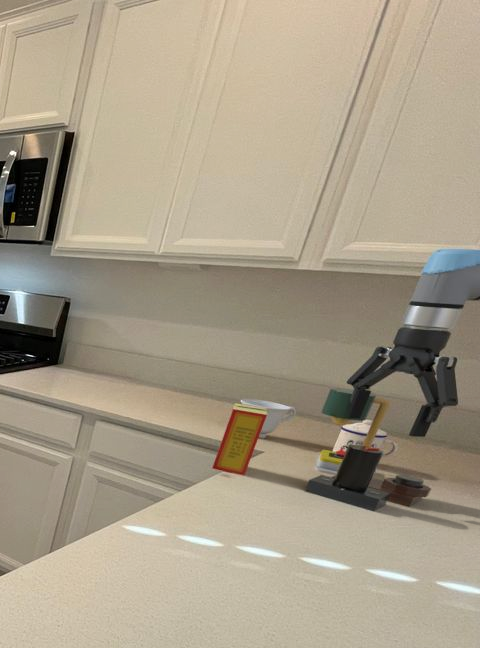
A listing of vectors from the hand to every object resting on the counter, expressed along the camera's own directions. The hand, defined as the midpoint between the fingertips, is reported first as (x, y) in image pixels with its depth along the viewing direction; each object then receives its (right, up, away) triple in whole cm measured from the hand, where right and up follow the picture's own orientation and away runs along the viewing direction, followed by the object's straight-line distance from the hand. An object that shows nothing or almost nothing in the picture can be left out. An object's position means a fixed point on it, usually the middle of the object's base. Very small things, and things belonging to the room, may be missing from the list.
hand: (382, 426), depth 128 cm
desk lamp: (+5, -9, +16) cm, 19 cm away
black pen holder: (-2, -13, +5) cm, 14 cm away
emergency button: (+16, -10, +26) cm, 32 cm away
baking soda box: (-16, -9, +22) cm, 29 cm away
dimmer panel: (-3, -16, +6) cm, 17 cm away
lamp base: (+10, -15, +11) cm, 21 cm away
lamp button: (+12, -13, +6) cm, 19 cm away
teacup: (+19, 0, +54) cm, 57 cm away
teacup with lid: (+29, -8, +34) cm, 45 cm away
